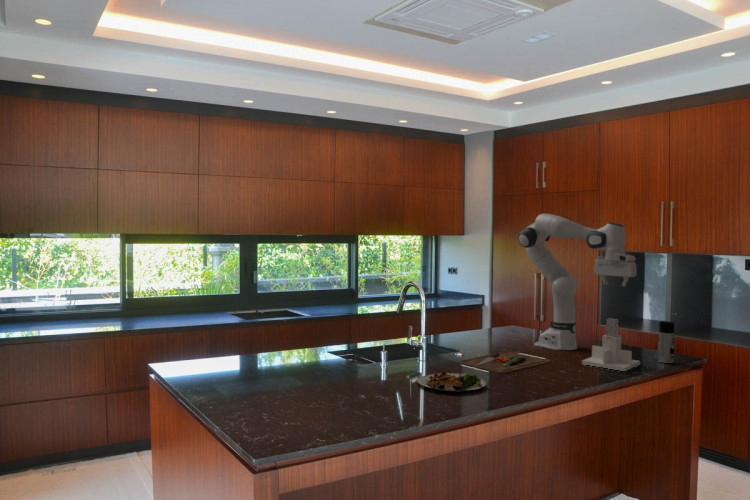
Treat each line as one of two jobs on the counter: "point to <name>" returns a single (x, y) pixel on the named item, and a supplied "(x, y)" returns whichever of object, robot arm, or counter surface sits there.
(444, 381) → the plate of food
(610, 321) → the column
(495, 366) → the chopping board
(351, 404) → the counter surface
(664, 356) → the spray can
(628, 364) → the stand
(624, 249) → the robot arm
